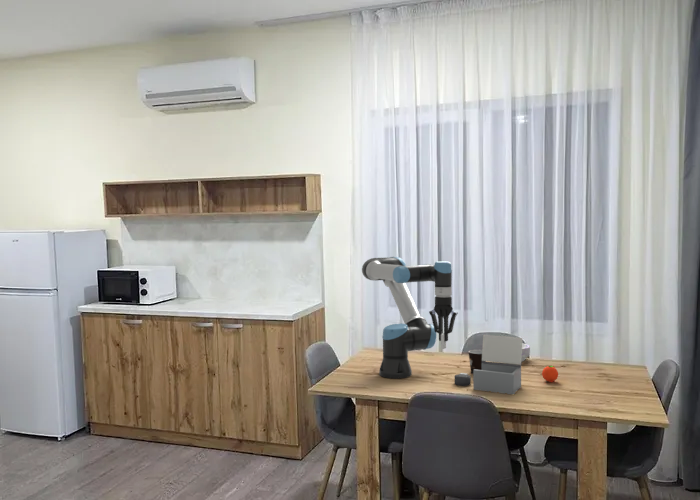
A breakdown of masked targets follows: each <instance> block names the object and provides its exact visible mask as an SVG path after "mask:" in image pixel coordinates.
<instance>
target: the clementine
mask: <svg viewBox="0 0 700 500" xmlns="http://www.w3.org/2000/svg"><path fill="white" fill-rule="evenodd" d="M541 376H542V378H543V379H544V380H545V381H546V382H548V383H552V382H555V381H557V379H558V378H559V371H558V369H557V368H556V367H555V366H554V365H548V366H546V367H544V368H543V369H542V371H541Z"/></svg>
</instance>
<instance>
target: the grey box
mask: <svg viewBox="0 0 700 500" xmlns="http://www.w3.org/2000/svg"><path fill="white" fill-rule="evenodd" d="M472 375H473V380H472V381H473V382H472V383H473V385H472V386H473V387H472V388H473V390H475V391H483V392H489V391H491V392H490V393H497V392H499V393H498V394H505V393H507V394H506V395H513V394H514V395H515V394H516V393H517V392H518V390H519V389H521V387H522V364H521V365H518V364H509V363H499V362H490V361H482V370H476V369H474V370H473V373H472ZM516 391H517V392H516ZM515 392H516V393H515Z"/></svg>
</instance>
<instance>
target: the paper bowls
mask: <svg viewBox="0 0 700 500" xmlns="http://www.w3.org/2000/svg"><path fill="white" fill-rule="evenodd" d="M530 355H531V345H529V344H526V343H523V342H522V359H521V363H522V362H524V361H525V360H526V358H527V357H530Z"/></svg>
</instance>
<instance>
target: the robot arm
mask: <svg viewBox="0 0 700 500" xmlns="http://www.w3.org/2000/svg"><path fill="white" fill-rule="evenodd" d="M452 271H453V270H452V263H451V262H450V261H442V260H441V261H435V262H434V264H429V263H424V264H422V265H421V264H419V265H417V264H416V265H406V262H405V261H404V259H403V258H401V257H399V256H390V257H373V258H369V259H367V260H366V261H365V262H363V265H362V267H361V272H362V275H363V276H364V278H365V279H367V280H369V281H382V282H383V283H384V285H385V287H388V288H389V290H390V293H391V295H392V297H393V299H394V302H395V304H396V307H397V309H398V312H399V313H400V317H401V318H402V320H403V323H392V324H388V325H386V326H385V327H384V328H383V330H382V335H381V337H382V360H381V364H380V367H379V372H378V373H379V376H380V377H382V378H386V379H405V378H410V377H412V367H411V365H410V361H409V352H413V351H414V352H415V351H421V350H424V351H425V350H428V349H432V348H433V347H434V346H435V344H436V341H437V334H438V340H439V342H440V349H441V350H445V349H446V348H447V342H448V341H449V334H450V333H453V330H454V325H455V321H456V317H457V316H458V314H459V313H458V311H455V310H454V308H453V307H452V304H453V300H452V299H453V298H452V295H453V294H452V293H453V292H452V287H453V286H452V285H453V284H452V280H453V279H452V278H453V277H452V276H453V272H452ZM420 282H421V283H422V282H423V283H424V282H434V296H435V297H434V307H433V309H432V310H430V311H428V314H429V315H430V317H431V321H432V322H431V323H428V321H427V319H426V318H425V317H422V315H421V313H420V312H419V310H418V307H417V305H416V302H415V301H414V299H413V297H412V294H411V291H410V290H409V287H408V285H407V284H408V283H420ZM436 315H437V316H436ZM450 315H451V317H450ZM449 317H450V318H449ZM437 318H438V320H437ZM449 320H450V321H449Z"/></svg>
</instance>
